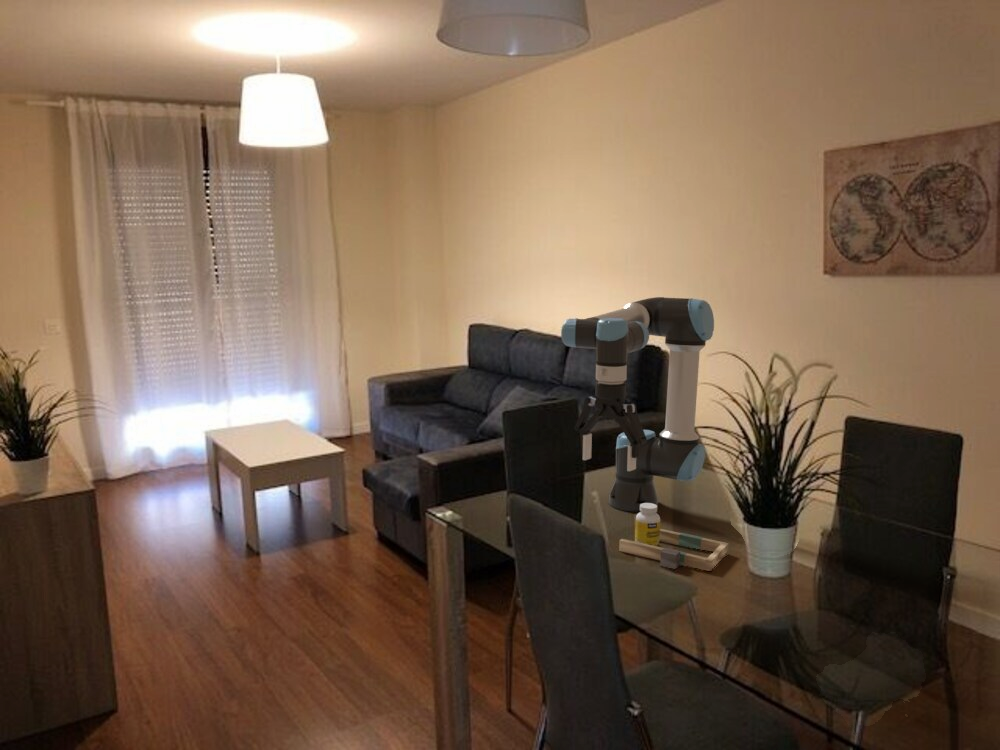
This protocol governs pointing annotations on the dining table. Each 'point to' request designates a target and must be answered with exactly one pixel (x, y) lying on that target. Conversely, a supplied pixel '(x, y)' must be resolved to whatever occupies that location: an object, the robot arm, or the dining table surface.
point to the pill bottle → (647, 525)
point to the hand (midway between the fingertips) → (608, 464)
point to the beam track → (674, 556)
